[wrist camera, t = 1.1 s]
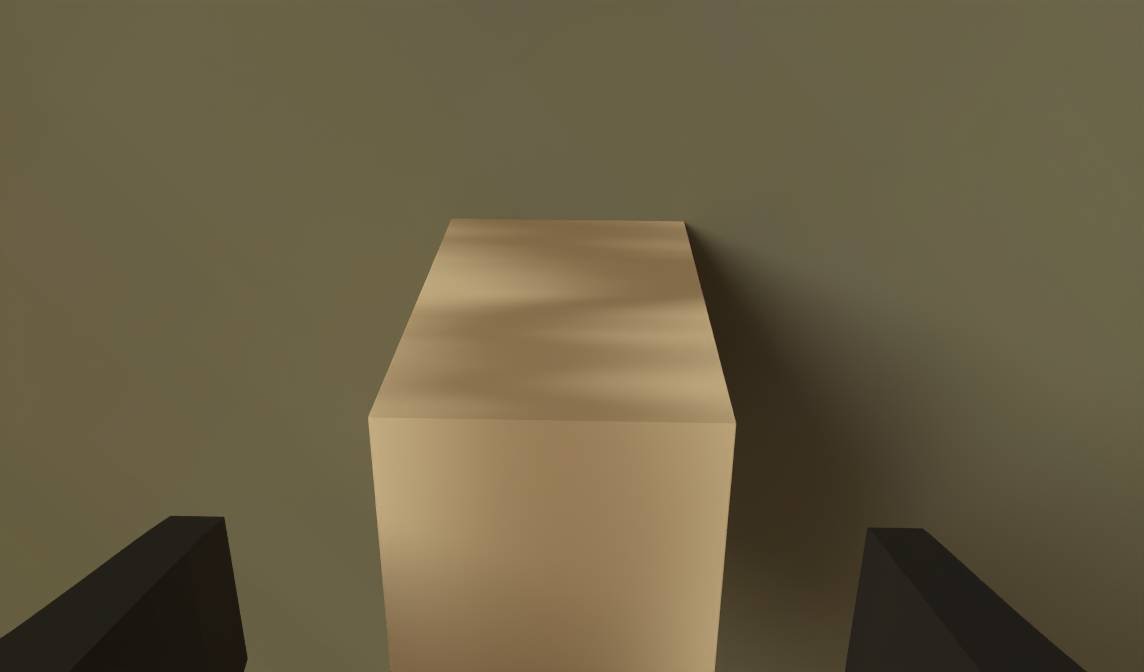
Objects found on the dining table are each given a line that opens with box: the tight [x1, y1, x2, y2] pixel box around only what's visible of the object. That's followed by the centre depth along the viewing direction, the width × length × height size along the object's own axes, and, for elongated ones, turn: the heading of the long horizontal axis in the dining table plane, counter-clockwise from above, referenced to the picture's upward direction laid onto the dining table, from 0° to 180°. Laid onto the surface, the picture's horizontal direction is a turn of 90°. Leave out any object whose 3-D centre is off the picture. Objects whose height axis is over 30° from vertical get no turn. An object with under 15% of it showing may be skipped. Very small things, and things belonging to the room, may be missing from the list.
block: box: [368, 218, 736, 672], centre depth 15 cm, size 4×4×7 cm
